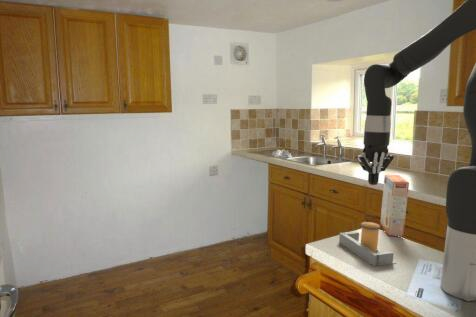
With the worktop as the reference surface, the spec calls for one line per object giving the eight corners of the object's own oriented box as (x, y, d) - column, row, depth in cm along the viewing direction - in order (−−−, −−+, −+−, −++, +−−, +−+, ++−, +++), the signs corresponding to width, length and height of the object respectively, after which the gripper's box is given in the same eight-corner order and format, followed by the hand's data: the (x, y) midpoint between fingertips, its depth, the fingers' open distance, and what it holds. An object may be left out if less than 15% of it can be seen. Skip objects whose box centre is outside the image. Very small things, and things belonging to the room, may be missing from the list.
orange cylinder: (382, 253, 111) (384, 227, 110) (366, 255, 109) (368, 228, 108) (370, 246, 117) (372, 221, 115) (355, 248, 115) (357, 222, 114)
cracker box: (404, 237, 126) (409, 182, 123) (387, 236, 127) (392, 181, 124) (395, 224, 140) (400, 174, 136) (379, 223, 141) (384, 173, 138)
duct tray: (396, 263, 105) (397, 252, 105) (373, 266, 103) (374, 255, 102) (358, 240, 123) (359, 230, 122) (339, 242, 120) (339, 232, 120)
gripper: (366, 131, 101) (362, 188, 104) (403, 131, 105) (398, 186, 108) (351, 129, 108) (348, 182, 111) (386, 129, 112) (382, 181, 115)
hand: (373, 184), depth 109 cm, fingers closed
